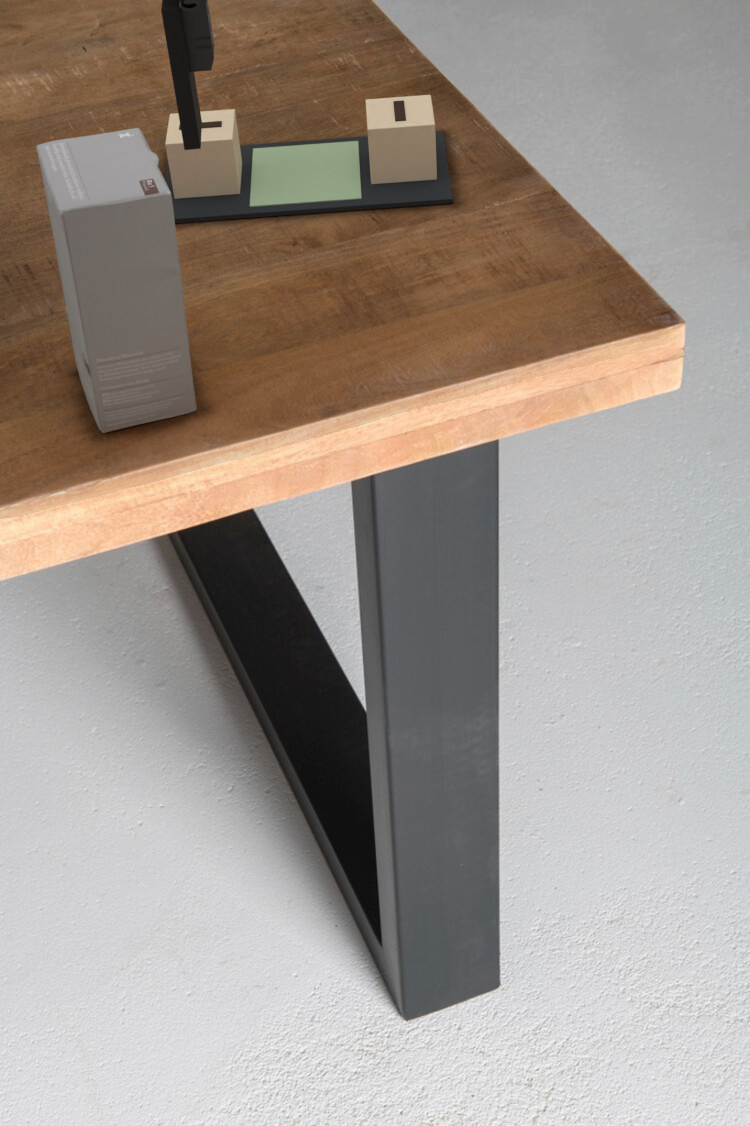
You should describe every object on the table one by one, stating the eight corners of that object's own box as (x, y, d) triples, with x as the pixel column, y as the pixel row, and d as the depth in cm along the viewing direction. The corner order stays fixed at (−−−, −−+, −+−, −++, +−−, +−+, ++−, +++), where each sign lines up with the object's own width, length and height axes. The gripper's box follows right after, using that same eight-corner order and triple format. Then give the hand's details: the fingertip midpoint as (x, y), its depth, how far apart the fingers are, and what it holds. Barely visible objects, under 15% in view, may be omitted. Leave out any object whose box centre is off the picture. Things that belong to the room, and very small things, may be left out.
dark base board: (159, 224, 106) (148, 163, 102) (169, 155, 114) (159, 95, 110) (453, 203, 105) (451, 140, 102) (442, 135, 113) (441, 75, 110)
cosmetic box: (75, 367, 93) (19, 142, 82) (181, 341, 94) (140, 117, 83) (100, 441, 87) (43, 209, 76) (212, 412, 88) (172, 181, 77)
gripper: (-455, -336, 49) (-236, 212, 64) (261, -399, 49) (316, 162, 64) (-385, -378, 54) (-198, 136, 69) (259, -434, 55) (310, 90, 69)
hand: (49, 150), depth 66 cm, fingers open, 13 cm apart
